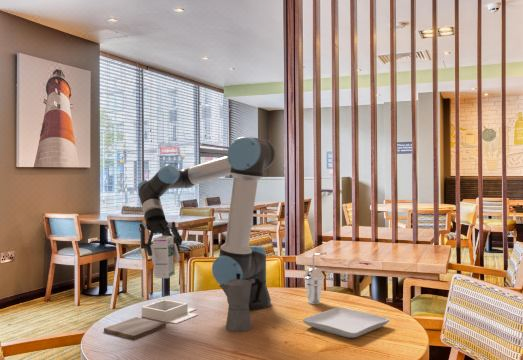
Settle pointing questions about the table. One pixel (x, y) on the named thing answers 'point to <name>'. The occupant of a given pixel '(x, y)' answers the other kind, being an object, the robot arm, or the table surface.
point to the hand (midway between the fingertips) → (166, 261)
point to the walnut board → (135, 328)
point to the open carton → (168, 311)
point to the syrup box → (164, 256)
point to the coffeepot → (240, 302)
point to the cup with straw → (314, 283)
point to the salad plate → (345, 322)
